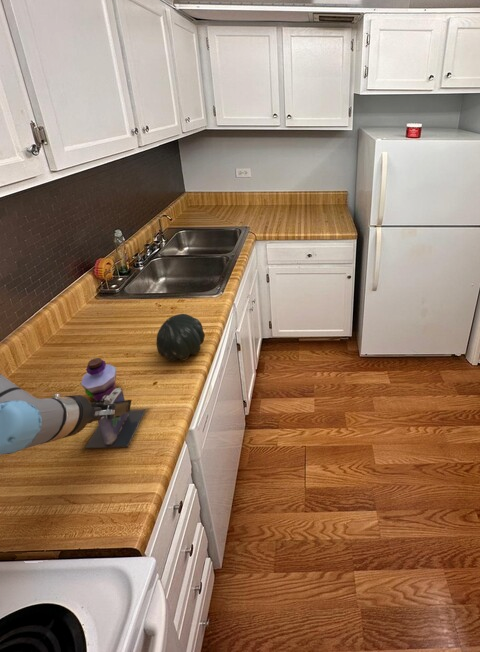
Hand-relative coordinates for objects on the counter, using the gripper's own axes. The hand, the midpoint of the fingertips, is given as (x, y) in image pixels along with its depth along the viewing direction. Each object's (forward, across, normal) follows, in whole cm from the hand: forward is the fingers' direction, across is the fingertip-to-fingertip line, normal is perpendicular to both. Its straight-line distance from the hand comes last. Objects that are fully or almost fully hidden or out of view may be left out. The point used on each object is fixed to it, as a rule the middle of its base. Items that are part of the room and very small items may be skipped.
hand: (122, 405), depth 87 cm
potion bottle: (+8, +9, -2) cm, 12 cm away
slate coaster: (0, 0, +5) cm, 5 cm away
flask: (0, 0, +5) cm, 5 cm away
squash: (+19, -8, -14) cm, 25 cm away
